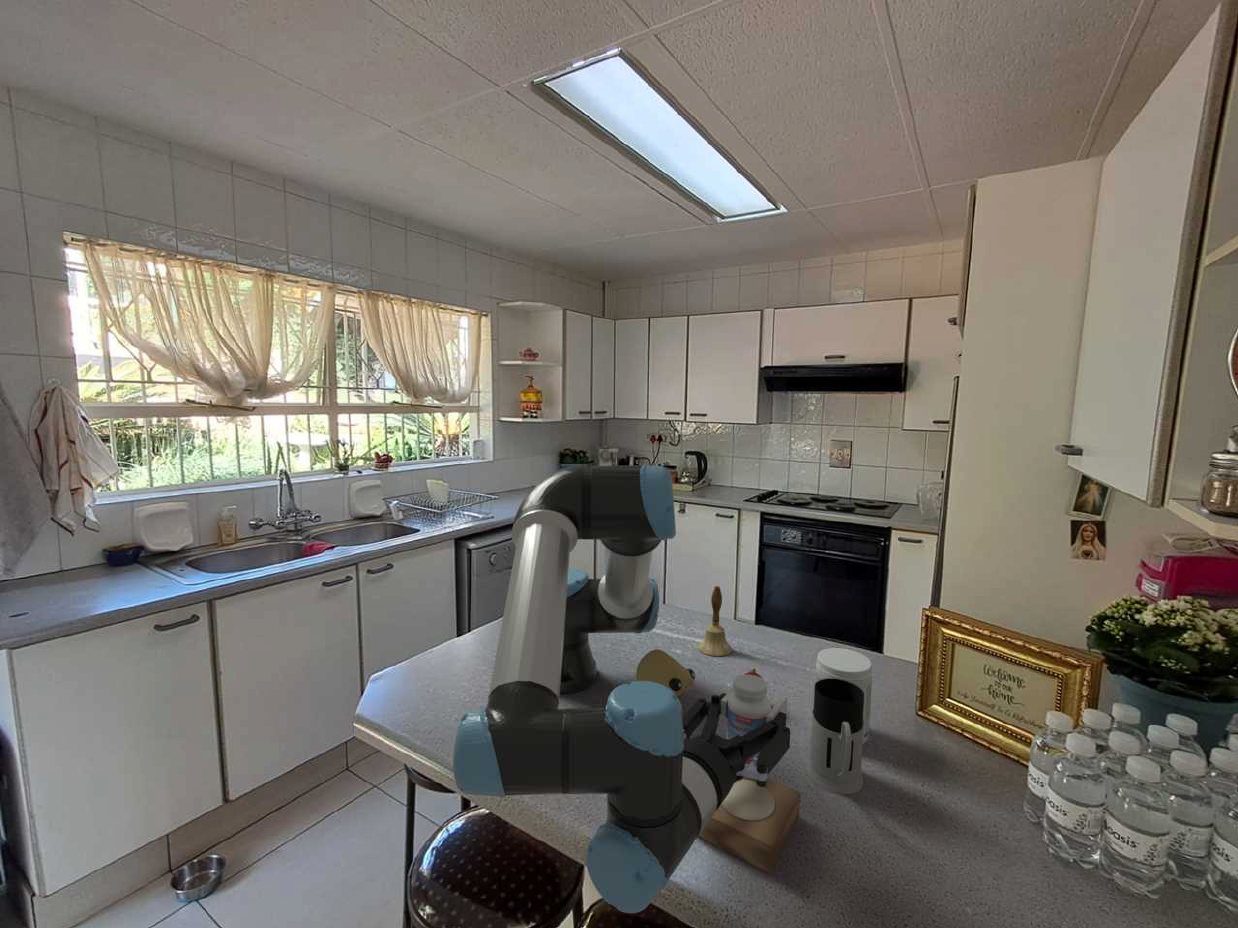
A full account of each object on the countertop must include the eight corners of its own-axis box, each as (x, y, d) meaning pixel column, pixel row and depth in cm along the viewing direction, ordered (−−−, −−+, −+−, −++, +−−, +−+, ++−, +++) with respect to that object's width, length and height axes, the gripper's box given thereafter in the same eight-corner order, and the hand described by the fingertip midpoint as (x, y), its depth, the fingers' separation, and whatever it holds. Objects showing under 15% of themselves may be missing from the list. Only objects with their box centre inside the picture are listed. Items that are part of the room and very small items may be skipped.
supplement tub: (839, 713, 108) (843, 642, 106) (880, 740, 100) (885, 664, 98) (802, 726, 104) (805, 653, 102) (842, 755, 96) (846, 676, 94)
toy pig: (673, 725, 104) (673, 672, 103) (626, 701, 113) (626, 651, 111) (702, 704, 112) (703, 654, 110) (657, 683, 120) (657, 636, 118)
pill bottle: (722, 763, 77) (724, 688, 76) (730, 738, 83) (732, 668, 81) (766, 774, 75) (769, 697, 73) (771, 748, 80) (774, 675, 79)
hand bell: (707, 638, 142) (708, 579, 140) (737, 647, 137) (739, 585, 135) (692, 650, 135) (693, 588, 133) (723, 660, 130) (724, 595, 128)
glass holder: (857, 762, 94) (862, 679, 92) (876, 824, 80) (882, 729, 78) (804, 754, 96) (807, 673, 94) (813, 814, 82) (818, 721, 80)
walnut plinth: (689, 832, 79) (690, 805, 78) (724, 784, 88) (725, 760, 88) (771, 873, 72) (772, 844, 71) (799, 816, 82) (800, 791, 81)
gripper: (622, 782, 69) (704, 700, 88) (768, 854, 58) (826, 743, 77) (622, 726, 68) (705, 656, 87) (771, 789, 57) (829, 693, 76)
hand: (762, 697), depth 82 cm, fingers closed on pill bottle, 6 cm apart
